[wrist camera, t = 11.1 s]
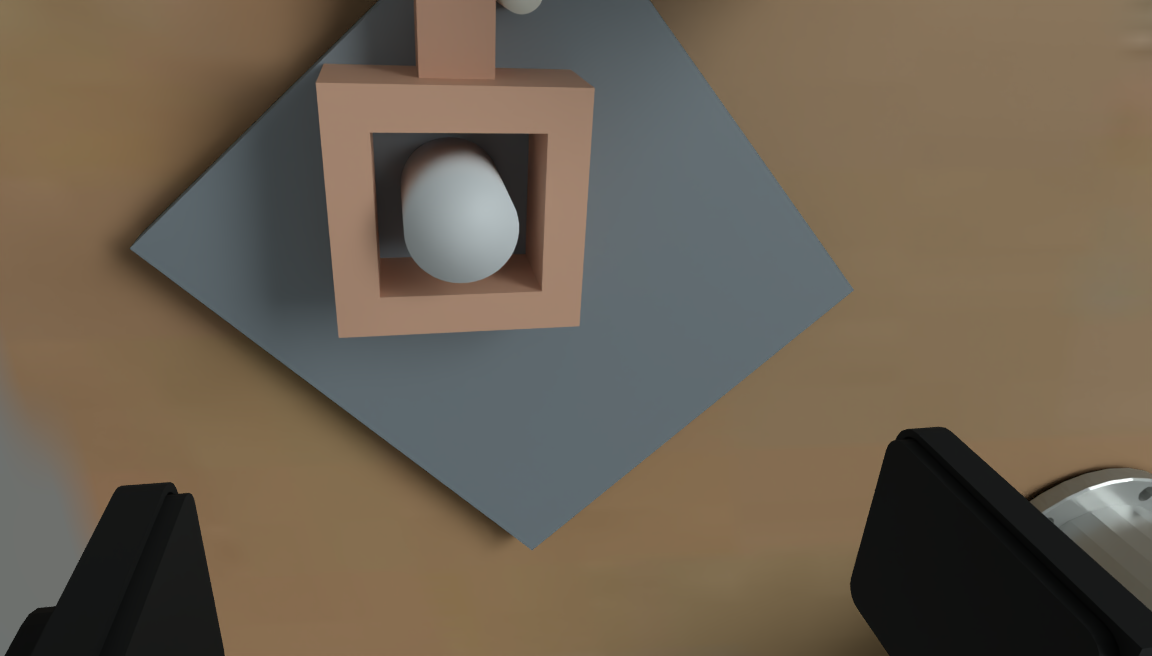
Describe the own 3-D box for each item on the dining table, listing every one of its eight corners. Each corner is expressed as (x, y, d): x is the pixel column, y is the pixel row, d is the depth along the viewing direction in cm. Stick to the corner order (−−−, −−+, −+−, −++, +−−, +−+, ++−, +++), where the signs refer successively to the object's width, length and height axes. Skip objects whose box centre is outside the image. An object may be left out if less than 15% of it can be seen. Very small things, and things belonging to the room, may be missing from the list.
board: (837, 277, 30) (918, 339, 26) (527, 530, 32) (550, 628, 28) (532, -151, 21) (572, -171, 17) (140, 234, 24) (84, 306, 19)
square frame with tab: (311, -75, 20) (301, -74, 18) (577, -59, 22) (603, -56, 19) (343, 294, 25) (338, 337, 22) (559, 286, 26) (579, 326, 24)
